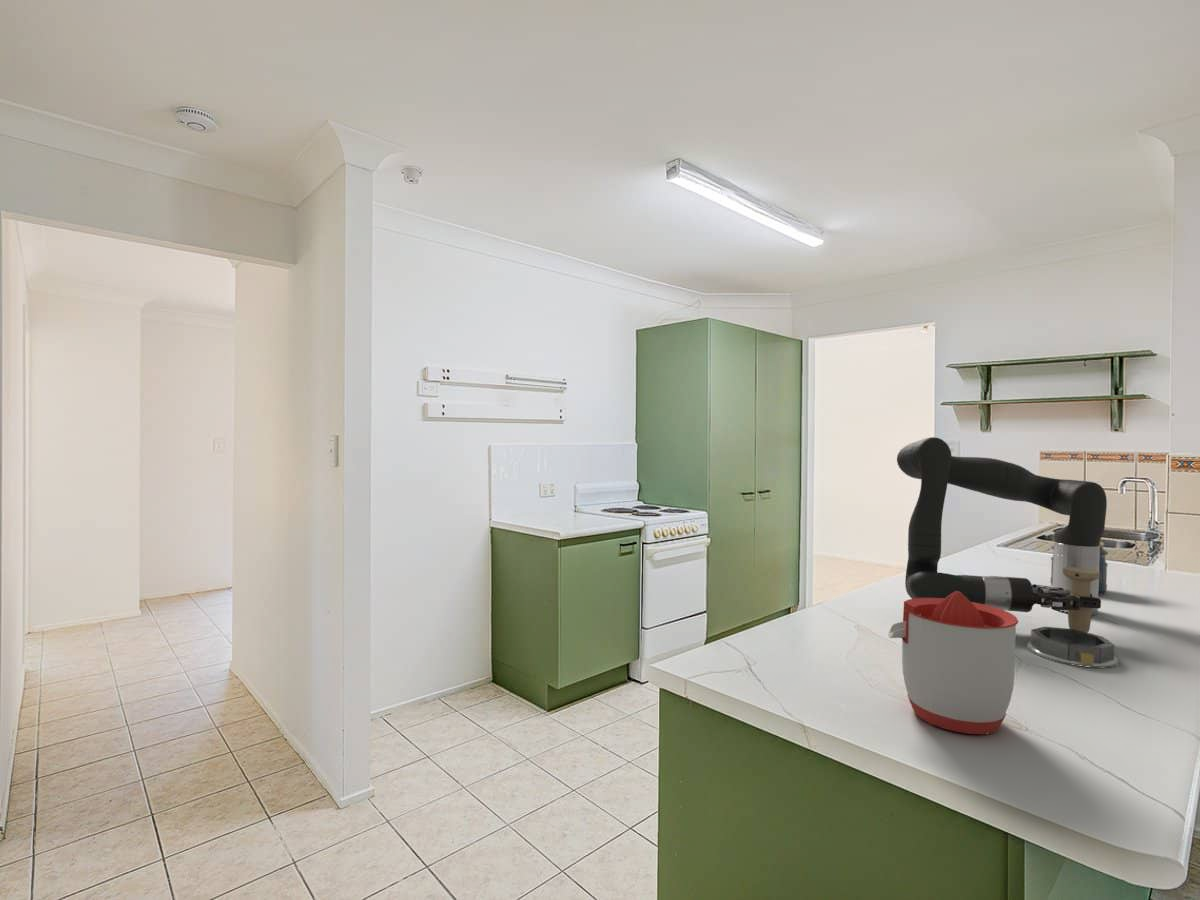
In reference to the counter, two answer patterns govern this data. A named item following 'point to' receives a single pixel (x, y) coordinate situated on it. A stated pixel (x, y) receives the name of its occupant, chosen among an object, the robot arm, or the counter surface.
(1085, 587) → the handle
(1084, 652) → the grey shallow octagonal dish
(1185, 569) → the counter surface
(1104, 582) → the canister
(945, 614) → the citrus juicer
